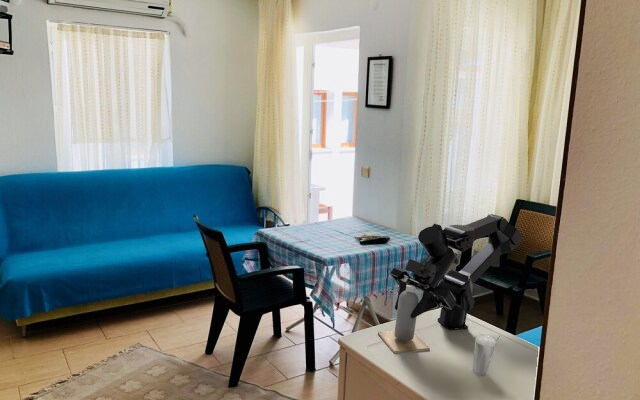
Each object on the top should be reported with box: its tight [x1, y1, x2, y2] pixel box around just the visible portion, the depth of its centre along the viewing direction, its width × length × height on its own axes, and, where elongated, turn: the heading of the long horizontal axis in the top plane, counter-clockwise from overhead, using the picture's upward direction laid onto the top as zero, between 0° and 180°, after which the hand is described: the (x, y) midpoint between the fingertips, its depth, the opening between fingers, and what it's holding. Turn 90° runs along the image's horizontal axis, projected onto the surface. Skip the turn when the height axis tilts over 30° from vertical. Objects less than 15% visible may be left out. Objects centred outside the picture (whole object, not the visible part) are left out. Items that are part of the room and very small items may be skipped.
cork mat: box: [377, 330, 431, 354], centre depth 131 cm, size 10×10×1 cm
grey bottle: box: [394, 285, 420, 341], centre depth 129 cm, size 5×5×14 cm
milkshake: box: [472, 334, 501, 376], centre depth 118 cm, size 4×5×10 cm
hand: (403, 313), depth 128 cm, fingers closed on grey bottle, 5 cm apart
